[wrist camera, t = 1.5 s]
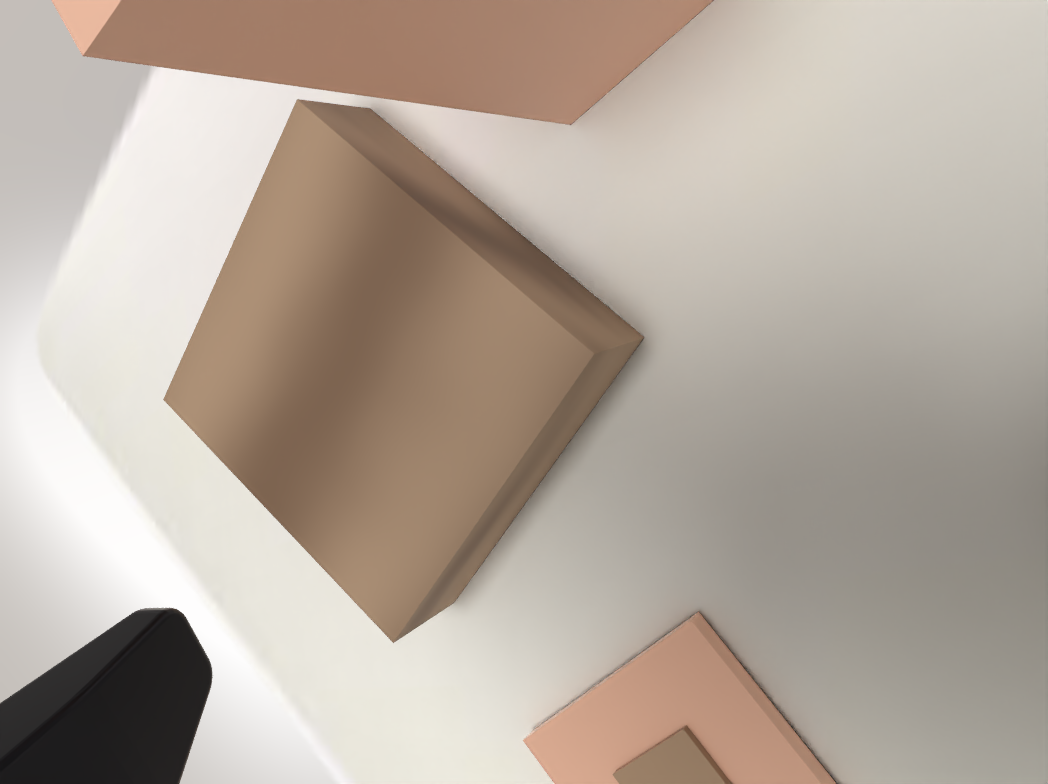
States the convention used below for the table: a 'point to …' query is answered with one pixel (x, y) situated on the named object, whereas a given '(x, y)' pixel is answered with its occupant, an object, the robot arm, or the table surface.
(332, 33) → the terracotta block
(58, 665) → the robot arm
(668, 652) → the tile
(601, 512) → the table surface
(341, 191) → the walnut slab
